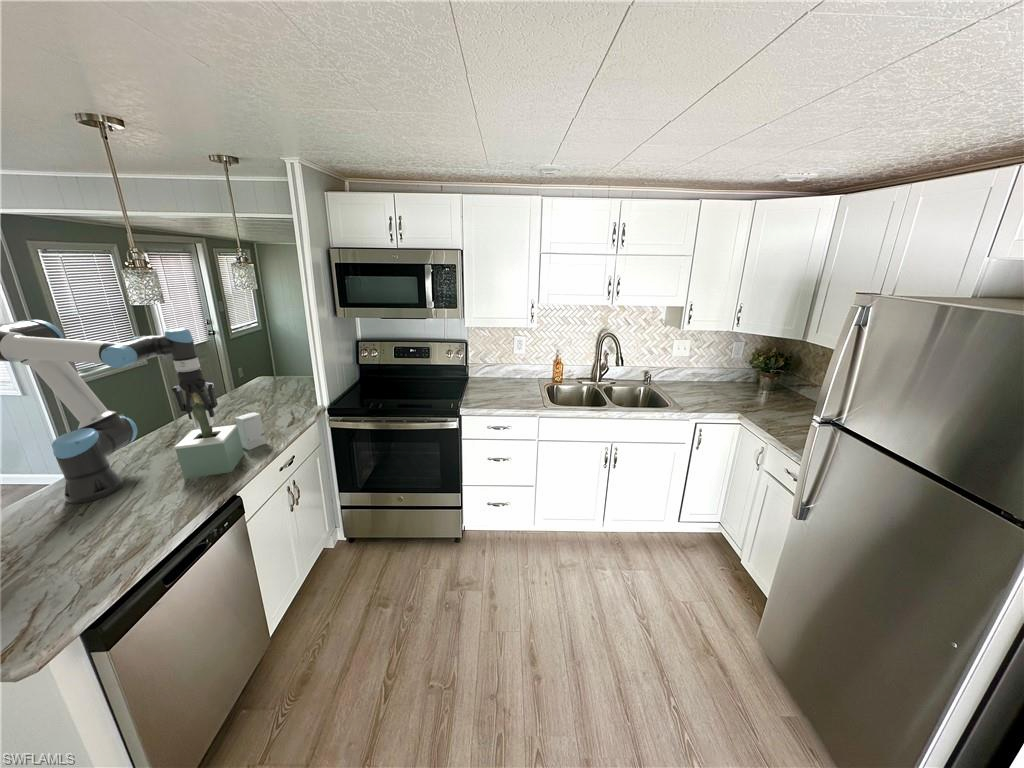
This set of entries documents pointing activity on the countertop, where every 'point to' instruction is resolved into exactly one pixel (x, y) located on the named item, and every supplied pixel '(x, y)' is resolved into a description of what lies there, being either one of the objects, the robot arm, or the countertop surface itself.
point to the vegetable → (202, 417)
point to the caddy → (210, 452)
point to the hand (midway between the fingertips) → (204, 425)
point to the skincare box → (250, 430)
